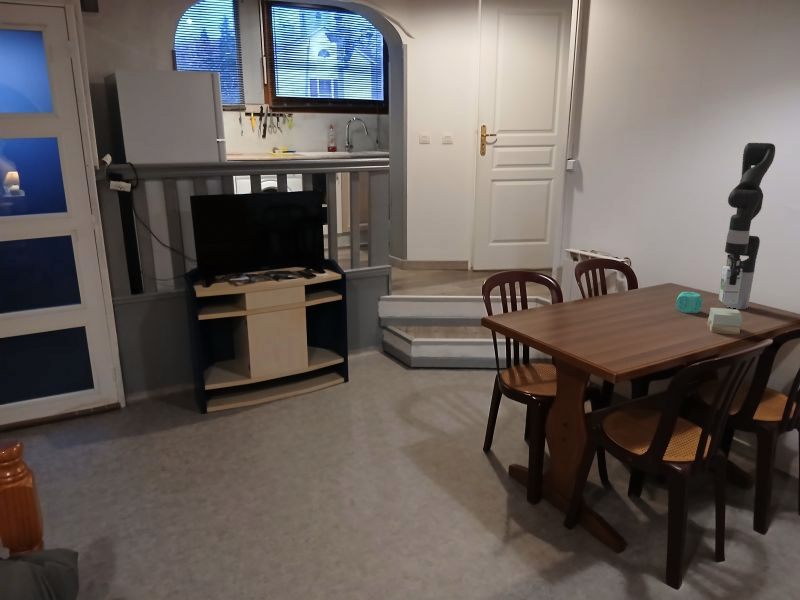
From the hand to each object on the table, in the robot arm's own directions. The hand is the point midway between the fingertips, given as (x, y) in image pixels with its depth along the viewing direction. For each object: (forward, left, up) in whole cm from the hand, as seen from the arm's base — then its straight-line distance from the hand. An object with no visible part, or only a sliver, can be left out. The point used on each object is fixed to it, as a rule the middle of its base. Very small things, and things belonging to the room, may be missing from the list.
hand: (730, 282), depth 233 cm
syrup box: (0, 0, -8) cm, 8 cm away
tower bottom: (0, 0, -20) cm, 20 cm away
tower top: (0, 0, -16) cm, 16 cm away
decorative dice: (-24, -10, -20) cm, 33 cm away
